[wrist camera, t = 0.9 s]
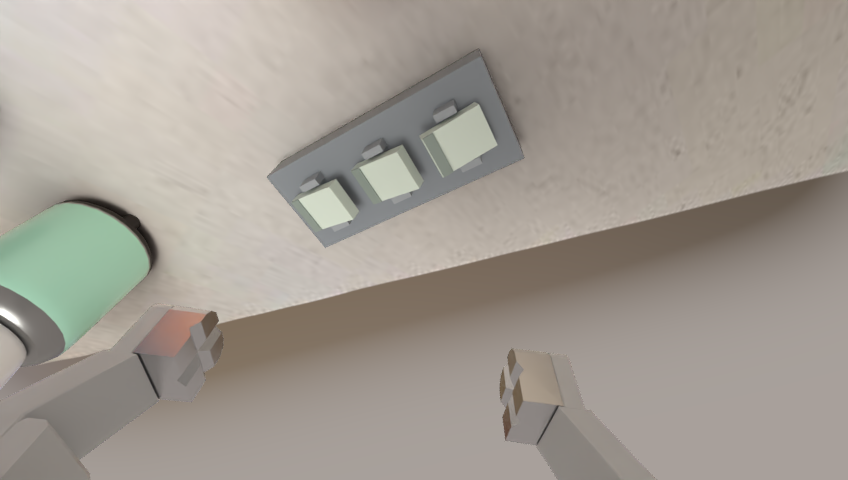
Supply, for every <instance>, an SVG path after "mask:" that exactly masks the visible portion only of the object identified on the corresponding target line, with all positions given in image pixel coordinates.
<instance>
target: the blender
mask: <svg viewBox="0 0 848 480" xmlns="http://www.w3.org/2000/svg"><path fill="white" fill-rule="evenodd" d="M139 226H140V222H139V220H138V219H137V218H136V217H135V216H132V215H125V216H124V217H121V216H120V215H118V214H116V213H114V212H112V211H110V210H108V209H107V208H104V207H101V206H98V205H95V204H92V203H89V202H81V201H64V202H62V203H58V204H56V205H54V206H52V207H50V208H48V209H46V210H45V211H43V212H41V213H40V214H38V215H36V216H34V217H33V218H31V219H29V220H27V221H26V222H24V223H22V224H20V225H19V226H17V227H15V228H14V229H12V230H10V231H8V232H7V233H5V234H3V235H1V236H0V389H1V388H2V387H3V386H4V385H5V384H6V382H7V381H8V380H9V379H10V378H11V377H12V376H13V374H14V373H15V372H16V371H17V370H18V368H19V367H27V366H34V365H38V364H41V363H43V362H46V361H48V360H51V359H53V358H56V357H58V356H59V355H61V354H62V353H64V352H65V351H66V350H68V349H69V348H70V347H71V346H72V345H74V344H75V343H76V342H77V341H78V340H79V339H80V338H81V337H82V336H83V335H84V334H86V333H87V332H88V331H89V330H90V329H91V328H92V327H93V326H94V325H95V324H97V323H98V321H99V320H100V319H101V318H102V317H104V316H105V315H106V314H107V313H108V312H109V311H110V310H111V309H112V308H113V307H114V306H115V305H116V304H117V303H118V302H119V301H120V300H122V299H123V298H124V297H125V296H126V295H127V294H128V293H129V292H130V291H131V290H132V289H133V288H134V287H135V286H136V285H137V284H138V283H140V282H141V281H142V280H143V279H144V278H145V277H146V276H147V275H148V273H149V271H150V270H151V266H152V254H151V252H150V249H149V247H148V244H147V242H146V241H145V239H144V238H143V236H142V235H141V234H140V232H139V231H138V230H137V228H138V227H139Z"/></svg>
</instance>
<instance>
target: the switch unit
mask: <svg viewBox="0 0 848 480" xmlns="http://www.w3.org/2000/svg"><path fill="white" fill-rule="evenodd" d="M474 102H475V103H477V104H479V105H480V108H481V110H482V112H483V114H484V116H485V119H486V121H487V123H488V125H489V127H490V130H491V132H492V134H493V136H494V138H495V140H496V143H497V146H496V147H494V148H492V149H490V150H489V151H487V152H485V153H484V154H482V155H480V156H479V157H477V158H475V159H474V160H472V161H470V162H469V163H467V164H465V165H463V166H462V167H460V168H458V169H457V170H455V171H454V172H453V173H451V174H449V175H448V176H446V177H442V175H441V174H440V172H439V170H438V169H437V167H436V165H435V163H434V162H433V160H432V158H431V156H430V154H429V153H428V151H427V149H426V147H425V146H424V144H423V142H422V140H421V138H420V137H419V136H420V135H421V134H423V133H424V132H426V131H428V130H429V129H431V128H433V127H434V126H436V125H438V124H439V123H441V122H442V121H444V120H446V119H447V118H449V117H451V116H452V115H454V114H456V113H457V112H459V111H461V110H462V109H464V108H465V107H467V106H469V105H470V104H472V103H474ZM400 145H403V146H404V148H405V150H406V151H407V153H408V155H409V157H410V158H411V160H412V162H413V163H414V165H415V167H416V168H417V170H418V172H419V173H420V175H421V177H422V178H423V180H424V181H423V183H422V185H421V187H420V188H419V189H417V190H414V191H411V192H408V193H405V194H402V195H399V196H396V197H393V198H390V199H387V200H384V201H382V202H380V203H377V204H373V203H372V201H371V200H370V198H369V197H368V195H367V194H366V193H365V191H364V190H363V188H362V187H361V185H360V184H359V183H358V181H357V180H356V178H355V177H354V175H353V174H352V173H351V170H352V169H353V168H354V167H355V165H356V164H357V163H360V162H362V161H364V160H367V159H369V158H372V157H374V156H376V155H379V154H381V153H383V152H386V151H388V150H390V149H393V148H395V147H398V146H400ZM521 159H524V155H523V152H522V150H521V147H520V144H519V142H518V139H517V137H516V135H515V132H514V130H513V128H512V125H511V123H510V120H509V118H508V116H507V113H506V111H505V109H504V106H503V104H502V102H501V99H500V97H499V95H498V92H497V90H496V88H495V85H494V83H493V81H492V78H491V76H490V74H489V71H488V69H487V67H486V64H485V62H484V59H483V57H482V55H481V52H480V50H479V49H477V50H475V51H474V52H472V53H470V54H468V55H467V56H465V57H463V58H461V59H460V60H458V61H456V62H454V63H453V64H451V65H449V66H447V67H446V68H444V69H442V70H440V71H439V72H437V73H435V74H433V75H432V76H430V77H428V78H426V79H425V80H423V81H421V82H419V83H418V84H416V85H414V86H412V87H411V88H409V89H407V90H405V91H404V92H402V93H400V94H398V95H397V96H395V97H393V98H392V99H390V100H388V101H386V102H385V103H383V104H381V105H379V106H378V107H376V108H374V109H372V110H371V111H369V112H367V113H365V114H364V115H362V116H360V117H358V118H357V119H355V120H353V121H351V122H350V123H348V124H346V125H344V126H343V127H341V128H339V129H337V130H336V131H334V132H332V133H330V134H329V135H327V136H325V137H323V138H322V139H320V140H318V141H316V142H315V143H313V144H311V145H310V146H308V147H306V148H304V149H303V150H301V151H299V152H297V153H296V154H294V155H292V156H290V157H289V158H287V159H285V160H283V161H282V162H281V163H280V164H279V165H278V166H277V167H276V168H275V169H274V170H273V171H272V172H271V173H270V174H269V175H268V176H267V178H268V179H269V181H270V182H271V183H272V184H273V185H274V187H275V188H276V189H277V190H278V191H279V193H280V194H281V195H282V196H283V197H284V199H285V200H286V201H287V202H288V203H289V205H290V206H291V207H292V208H293V210H294V211H295V212H296V213H297V214H298V216H299V217H300V218H301V219H302V220H303V222H304V223H305V224H306V225H307V226H308V228H309V229H310V230H311V231H312V232H313V234H314V235H315V236H316V237H317V238H318V240H319V241H320V242H321V243H322V244H323V246H324V247H325V248H326V247H328V246H330V245H333V244H335V243H337V242H339V241H341V240H344V239H346V238H348V237H350V236H353V235H355V234H357V233H359V232H361V231H364V230H366V229H368V228H370V227H372V226H375V225H377V224H379V223H381V222H384V221H386V220H388V219H390V218H392V217H395V216H397V215H399V214H401V213H404V212H406V211H408V210H410V209H412V208H415V207H417V206H419V205H421V204H424V203H426V202H428V201H430V200H432V199H435V198H437V197H439V196H441V195H444V194H446V193H448V192H450V191H452V190H455V189H457V188H459V187H461V186H464V185H466V184H468V183H470V182H472V181H475V180H477V179H479V178H481V177H484V176H486V175H488V174H490V173H492V172H495V171H497V170H499V169H501V168H504V167H506V166H508V165H510V164H512V163H515V162H517V161H519V160H521ZM335 179H336V180H337V181H338V182H339V184H340V185H341V187H342V188H343V189H344V191H345V192H346V193H347V195H348V196H349V198H350V199H351V200H352V202H353V203H354V204H355V206H356V207H357V209H358V210H359V212H358V214H357V215H356V217H355V218H354V219H353V220H350V221H347V222H344V223H341V224H337V225H334V226H331V227H328V228H325V229H322V230H321V231H318V232H315V231H314V230H313V229H312V228H311V226H310V225H309V224H308V223H307V221H306V220H305V219H304V218H303V217H302V215H301V214H300V213H299V212H298V211H297V209H296V208H295V207H294V206H293V205H292V203H291V202H292V201H293V200H294V199H295V197H296V196H297V195H298V194H301V193H304V192H306V191H308V190H310V189H313V188H315V187H318V186H320V185H323V184H325V183H327V182H330V181H332V180H335Z"/></svg>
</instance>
